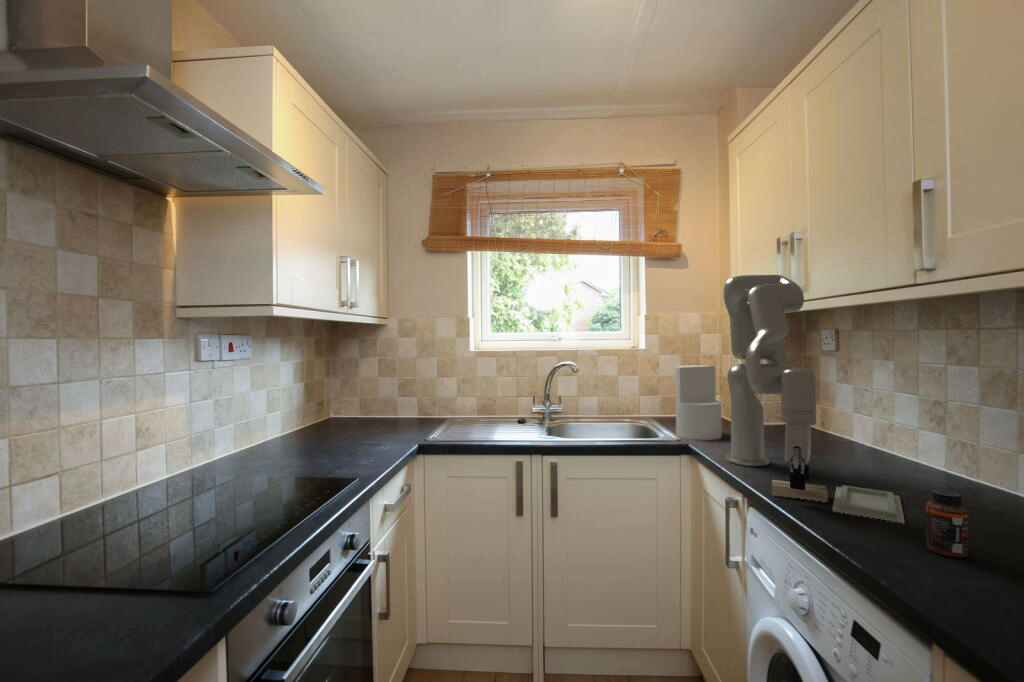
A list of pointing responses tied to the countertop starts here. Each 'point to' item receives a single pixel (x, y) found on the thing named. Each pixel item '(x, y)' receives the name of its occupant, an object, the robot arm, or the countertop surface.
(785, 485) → the birch tile
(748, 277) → the robot arm
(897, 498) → the white flat rectangular tray
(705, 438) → the grey stepped piece
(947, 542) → the supplement bottle
